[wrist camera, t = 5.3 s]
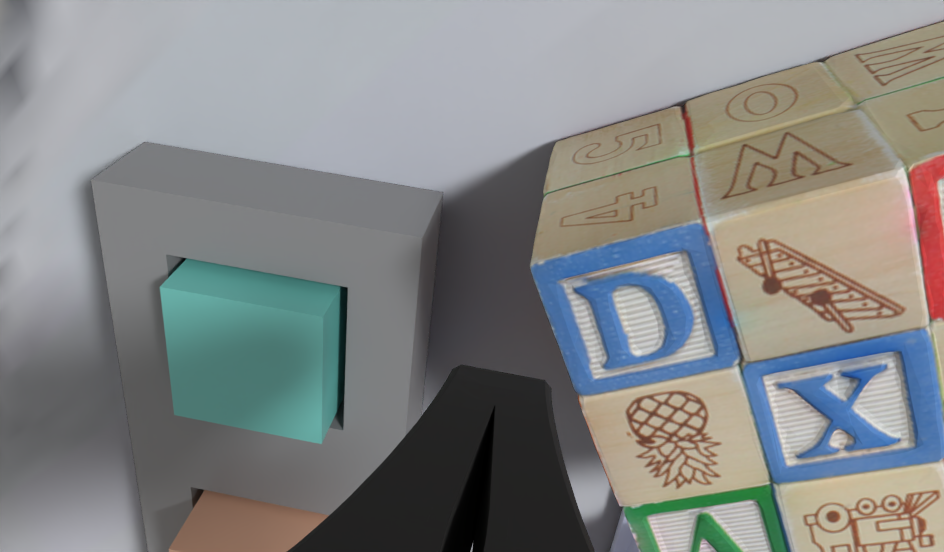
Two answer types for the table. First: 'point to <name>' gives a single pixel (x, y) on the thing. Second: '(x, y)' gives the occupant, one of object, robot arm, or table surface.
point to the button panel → (277, 252)
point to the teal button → (255, 349)
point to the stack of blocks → (763, 306)
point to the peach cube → (242, 525)
